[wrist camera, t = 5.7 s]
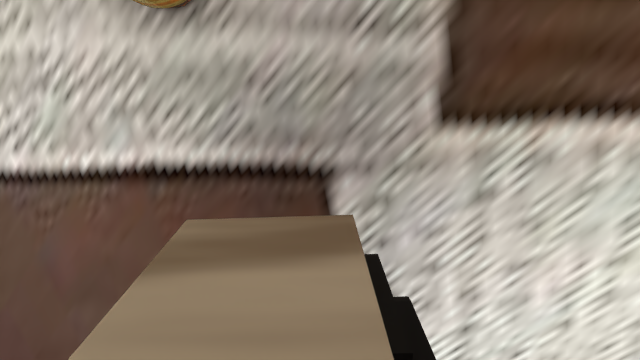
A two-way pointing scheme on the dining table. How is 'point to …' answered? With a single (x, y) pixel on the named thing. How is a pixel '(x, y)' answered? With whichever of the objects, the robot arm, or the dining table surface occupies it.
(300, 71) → the dining table surface
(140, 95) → the dining table surface
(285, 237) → the maple block
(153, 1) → the sauce bottle
